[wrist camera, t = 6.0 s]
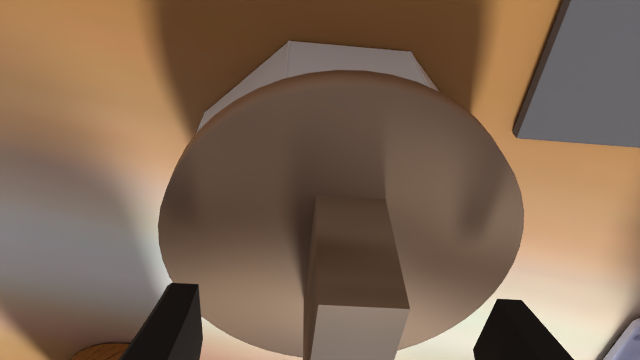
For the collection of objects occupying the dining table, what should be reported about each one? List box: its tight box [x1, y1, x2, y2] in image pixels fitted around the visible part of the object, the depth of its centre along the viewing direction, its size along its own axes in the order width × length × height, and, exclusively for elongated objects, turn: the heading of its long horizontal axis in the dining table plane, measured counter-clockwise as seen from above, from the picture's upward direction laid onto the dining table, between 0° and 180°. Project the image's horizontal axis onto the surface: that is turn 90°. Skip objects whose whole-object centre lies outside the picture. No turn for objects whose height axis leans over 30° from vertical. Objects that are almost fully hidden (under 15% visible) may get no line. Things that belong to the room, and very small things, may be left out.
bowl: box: [196, 40, 439, 133], centre depth 15 cm, size 9×9×4 cm
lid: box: [158, 70, 524, 360], centre depth 12 cm, size 10×10×4 cm
